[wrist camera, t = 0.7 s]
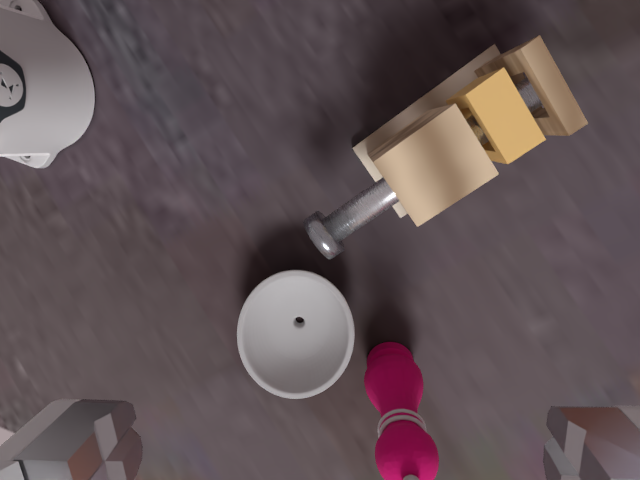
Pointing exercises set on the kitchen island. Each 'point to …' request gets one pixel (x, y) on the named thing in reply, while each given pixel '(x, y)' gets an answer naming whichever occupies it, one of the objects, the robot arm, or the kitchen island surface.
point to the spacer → (499, 116)
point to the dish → (295, 334)
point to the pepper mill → (399, 415)
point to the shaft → (380, 196)
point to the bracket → (460, 133)
